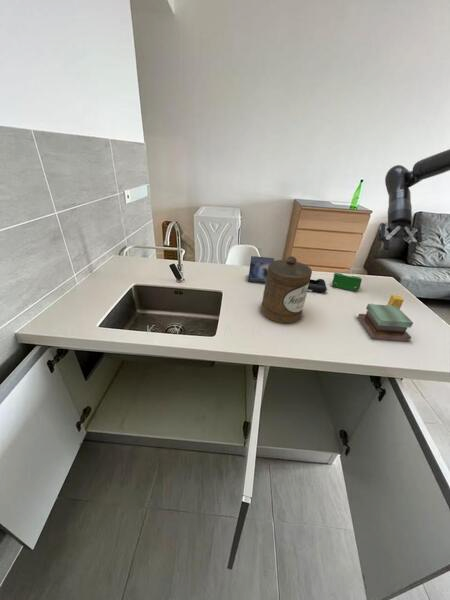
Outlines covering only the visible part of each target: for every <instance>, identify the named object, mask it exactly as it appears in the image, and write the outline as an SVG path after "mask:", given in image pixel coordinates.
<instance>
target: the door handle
mask: <svg viewBox="0 0 450 600" xmlns="http://www.w3.org/2000/svg"><path fill="white" fill-rule="evenodd" d="M327 290H328V289H327V285H326V281H325V280H324V279H323V278H317V279H311V278H310V281H309V286H308V290H307V292H311V293H312V292H318V293H326V292H327Z"/></svg>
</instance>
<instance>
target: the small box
mask: <svg viewBox="0 0 450 600" xmlns="http://www.w3.org/2000/svg"><path fill="white" fill-rule="evenodd" d="M273 261H275V258H274V257H267V256H266V257H265V256H258V255H257V256H256V255H255V256H253V255H251V256H250V263H249V270H248V279H247V280H248V282H249V283H250V282H251V283H259V284H266V278H267V271H268V266H269V264H270V263H271V262H273Z"/></svg>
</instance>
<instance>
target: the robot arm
mask: <svg viewBox="0 0 450 600" xmlns="http://www.w3.org/2000/svg"><path fill="white" fill-rule="evenodd" d="M449 171H450V148H449V149H446V150H443V151H441V152H437V153H436V154H433V155H430V156H427V157H425V158H422V159H420V160H418V161H416V162H415V163H414V165H413V166H412V170H409V169H408V168H406V167H405V166H403V165H401V164H396V165H393V166H392V167H391V168H389V169H388V170H387V172H386V174H385V177H384V182H385V188H386V192H387V195H388V208H387V225H386V224H385V223H382V224H381V225H380V226H379V227H378V233H377V241H379V242H382V249H383V251H384V252H388V251H390V249H391V240H390V239H392V238H393V239H400V240H404V242H407V244H408V254H409V255H413V254H414V253H416V251H417V245H418V244H420V243H422V241H423V234H422V227H420V226H418V227H413V226H412V222H413V218H412V216H413V215H412V214H413V211H412V210H413V209H412V207H413V206H412V199H411V198H412V197H411V196H412V195H411V190H410V188H411V187H413V186H415V185H416V184H418V183H420V182H422V181H423V180H426V179H430V178H433V177H436V176H439V175H442V174H444V173H447V172H449ZM386 231H387V232H388V235H386V236H385V233H386Z"/></svg>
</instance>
